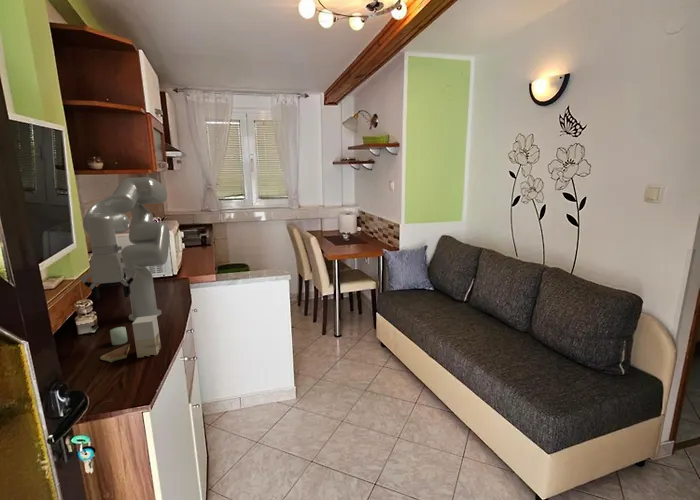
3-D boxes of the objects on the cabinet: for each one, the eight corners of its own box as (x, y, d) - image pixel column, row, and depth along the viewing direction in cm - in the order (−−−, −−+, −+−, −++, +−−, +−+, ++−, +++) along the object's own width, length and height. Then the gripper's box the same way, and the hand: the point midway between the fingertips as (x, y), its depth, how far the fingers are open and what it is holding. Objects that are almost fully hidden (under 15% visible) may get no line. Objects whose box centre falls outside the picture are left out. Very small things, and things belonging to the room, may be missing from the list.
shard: (130, 347, 136) (129, 342, 136) (144, 350, 133) (144, 345, 132) (99, 360, 126) (99, 355, 126) (114, 364, 123) (114, 359, 123)
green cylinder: (114, 340, 141) (112, 327, 140) (129, 338, 142) (127, 326, 141) (109, 346, 136) (107, 333, 135) (125, 344, 138) (123, 331, 137)
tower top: (140, 333, 131) (137, 317, 130) (158, 331, 132) (156, 315, 131) (134, 340, 125) (132, 323, 124) (154, 338, 127) (152, 321, 126)
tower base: (142, 350, 132) (139, 333, 131) (161, 347, 134) (158, 331, 132) (137, 357, 126) (134, 340, 125) (157, 355, 128) (154, 338, 127)
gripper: (135, 247, 138) (141, 292, 141) (81, 250, 134) (89, 297, 137) (129, 250, 131) (135, 298, 134) (71, 254, 127) (80, 303, 130)
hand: (112, 297), depth 136 cm, fingers open, 9 cm apart
